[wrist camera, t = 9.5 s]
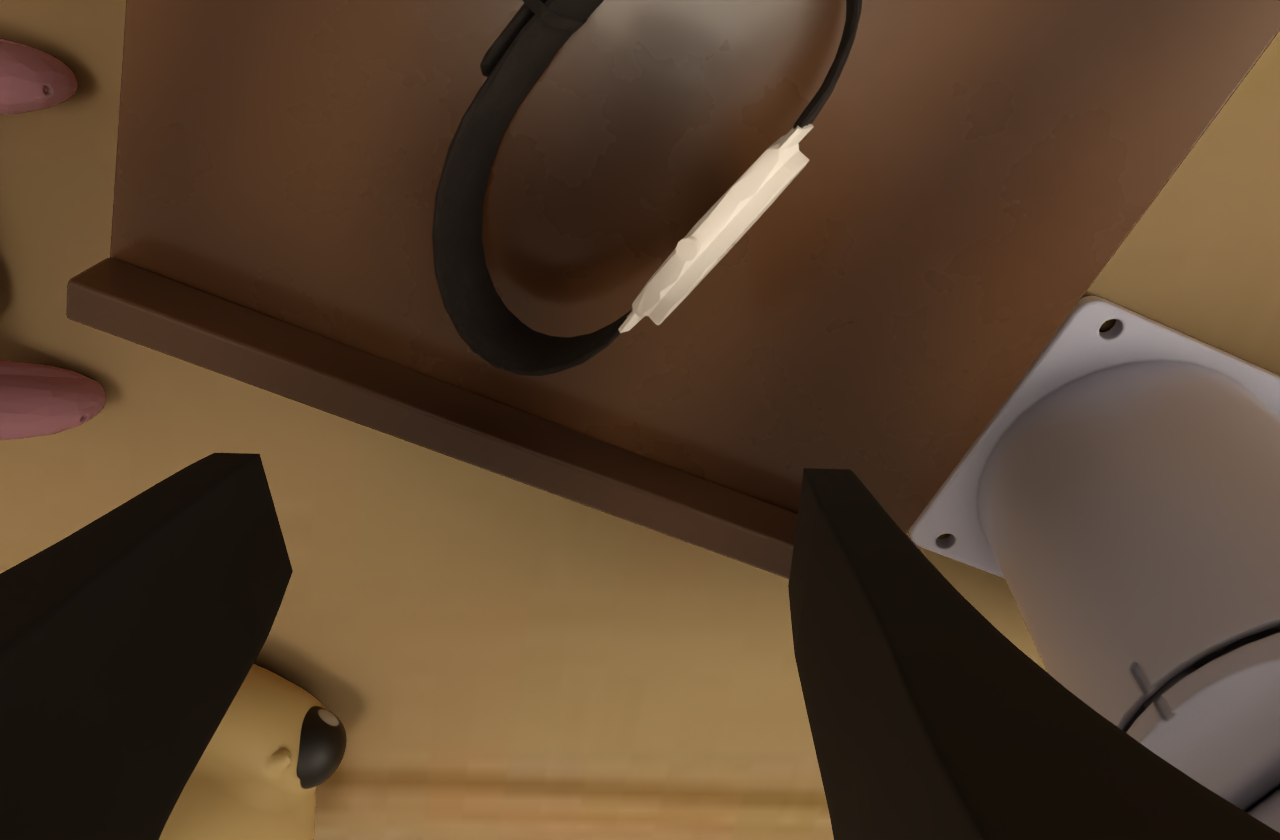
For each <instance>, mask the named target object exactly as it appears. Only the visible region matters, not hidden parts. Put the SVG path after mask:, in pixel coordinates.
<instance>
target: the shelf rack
mask: <svg viewBox="0 0 1280 840" xmlns="http://www.w3.org/2000/svg"><path fill="white" fill-rule="evenodd" d="M523 4H524V2H523V1H522V0H126V16H125V32H124V47H123V63H122V79H121V95H120V110H119V126H118V142H117V157H116V173H115V189H114V205H113V220H112V236H111V252H110V258H106V259H105V260H103V261H101V262H99V263H98V264H96V265H94V266H92V267H91V268H89V269H87V270H85V271H83V272H82V273H80V274H78V275H76V276H75V277H73V278H71V279H70V280H69V282H68V285H67V313H66V315H67V317H68V318H69V319H70V320H73V321H76V322H79V323H82V324H84V325H87V326H90V327H93V328H95V329H98V330H101V331H104V332H106V333H109V334H112V335H115V336H118V337H120V338H123V339H126V340H129V341H131V342H134V343H137V344H140V345H142V346H145V347H148V348H151V349H154V350H156V351H159V352H162V353H165V354H167V355H170V356H173V357H176V358H178V359H181V360H184V361H187V362H190V363H192V364H195V365H198V366H201V367H203V368H206V369H209V370H212V371H214V372H217V373H220V374H223V375H226V376H228V377H231V378H234V379H237V380H239V381H242V382H245V383H248V384H250V385H253V386H256V387H259V388H262V389H264V390H267V391H270V392H273V393H275V394H278V395H281V396H284V397H286V398H289V399H292V400H295V401H298V402H300V403H303V404H306V405H309V406H311V407H314V408H317V409H320V410H322V411H325V412H328V413H331V414H334V415H336V416H339V417H342V418H345V419H347V420H350V421H353V422H356V423H358V424H361V425H364V426H367V427H370V428H372V429H375V430H378V431H381V432H383V433H386V434H389V435H392V436H394V437H397V438H400V439H403V440H405V441H408V442H411V443H414V444H417V445H419V446H422V447H425V448H428V449H430V450H433V451H436V452H439V453H441V454H444V455H447V456H450V457H453V458H455V459H458V460H461V461H464V462H466V463H469V464H472V465H475V466H477V467H480V468H483V469H486V470H489V471H491V472H494V473H497V474H500V475H502V476H505V477H508V478H511V479H513V480H516V481H519V482H522V483H525V484H527V485H530V486H533V487H536V488H538V489H541V490H544V491H547V492H549V493H552V494H555V495H558V496H561V497H563V498H566V499H569V500H572V501H574V502H577V503H580V504H583V505H585V506H588V507H591V508H594V509H597V510H599V511H602V512H605V513H608V514H610V515H613V516H616V517H619V518H621V519H624V520H627V521H630V522H633V523H635V524H638V525H641V526H644V527H646V528H649V529H652V530H655V531H657V532H660V533H663V534H666V535H669V536H671V537H674V538H677V539H680V540H682V541H685V542H688V543H691V544H693V545H696V546H699V547H702V548H705V549H707V550H710V551H713V552H716V553H718V554H721V555H724V556H727V557H729V558H732V559H735V560H738V561H741V562H743V563H746V564H749V565H752V566H754V567H757V568H760V569H763V570H765V571H768V572H771V573H774V574H777V575H779V576H782V577H785V578H788V579H789V578H790V570H791V563H792V555H793V547H794V539H795V532H796V524H797V516H798V508H799V501H800V493H801V485H802V478H803V470H804V468H816V469H851V470H852V471H853V472H854V473H855V474H856V476H857V477H858V478H859V479H860V480H861V481H862V483H863V484H864V485H865V486H866V487H867V489H868V490H869V491H870V492H871V493H872V495H873V496H874V497H875V498H876V500H877V501H878V502H879V503H880V504H881V506H882V507H883V508H884V509H885V510H886V512H887V513H888V514H889V515H890V516H891V518H892V519H893V520H894V521H895V522H896V524H897V525H898V526H899V527H900V528H901V529H902V531H903V532H904V533H905V534H906V533H907V532H908V530H909V529H910V528H911V526H912V525H913V524H914V522H915V521H916V520H917V518H918V517H919V516H920V514H921V513H922V512H923V510H924V509H925V508H926V506H927V505H928V504H929V502H930V501H931V499H932V498H933V497H934V495H935V494H936V493H937V491H938V490H939V489H940V487H941V486H942V485H943V483H944V482H945V481H946V479H947V478H948V477H949V475H950V474H951V473H952V471H953V470H954V469H955V467H956V466H957V464H958V463H959V462H960V460H961V459H962V458H963V456H964V455H965V454H966V452H967V451H968V450H969V448H970V447H971V446H972V444H973V443H974V442H975V440H976V439H977V438H978V436H979V435H980V434H981V432H982V431H983V429H984V428H985V427H986V425H987V424H988V423H989V421H990V420H991V419H992V417H993V416H994V415H995V413H996V412H997V411H998V409H999V408H1000V407H1001V405H1002V404H1003V403H1004V401H1005V400H1006V398H1007V397H1008V396H1009V394H1010V393H1011V392H1012V390H1013V389H1014V388H1015V386H1016V385H1017V384H1018V382H1019V381H1020V380H1021V378H1022V377H1023V376H1024V374H1025V373H1026V372H1027V370H1028V369H1029V368H1030V366H1031V365H1032V363H1033V362H1034V361H1035V359H1036V358H1037V357H1038V355H1039V354H1040V353H1041V351H1042V350H1043V349H1044V347H1045V346H1046V345H1047V343H1048V342H1049V341H1050V339H1051V338H1052V337H1053V335H1054V334H1055V333H1056V331H1057V330H1058V328H1059V327H1060V326H1061V324H1062V323H1063V322H1064V320H1065V319H1066V318H1067V316H1068V315H1069V314H1070V312H1071V311H1072V310H1073V308H1074V307H1075V306H1076V304H1077V303H1078V302H1079V300H1080V299H1081V298H1082V296H1083V295H1084V293H1085V292H1086V291H1087V289H1088V288H1089V287H1090V285H1091V284H1092V283H1093V281H1094V280H1095V279H1096V277H1097V276H1098V275H1099V273H1100V272H1101V271H1102V269H1103V268H1104V267H1105V265H1106V264H1107V262H1108V261H1109V260H1110V258H1111V257H1112V256H1113V254H1114V253H1115V252H1116V250H1117V249H1118V248H1119V246H1120V245H1121V244H1122V242H1123V241H1124V240H1125V238H1126V237H1127V236H1128V234H1129V233H1130V232H1131V230H1132V229H1133V227H1134V226H1135V225H1136V223H1137V222H1138V221H1139V219H1140V218H1141V217H1142V215H1143V214H1144V213H1145V211H1146V210H1147V209H1148V207H1149V206H1150V205H1151V203H1152V202H1153V201H1154V199H1155V198H1156V197H1157V195H1158V194H1159V192H1160V191H1161V190H1162V188H1163V187H1164V186H1165V184H1166V183H1167V182H1168V180H1169V179H1170V178H1171V176H1172V175H1173V174H1174V172H1175V171H1176V170H1177V168H1178V167H1179V166H1180V164H1181V163H1182V161H1183V160H1184V159H1185V157H1186V156H1187V155H1188V153H1189V152H1190V151H1191V149H1192V148H1193V147H1194V145H1195V144H1196V143H1197V141H1198V140H1199V139H1200V137H1201V136H1202V135H1203V133H1204V132H1205V131H1206V129H1207V128H1208V126H1209V125H1210V124H1211V122H1212V121H1213V120H1214V118H1215V117H1216V116H1217V114H1218V113H1219V112H1220V110H1221V109H1222V108H1223V106H1224V105H1225V104H1226V102H1227V101H1228V100H1229V98H1230V97H1231V96H1232V94H1233V93H1234V91H1235V90H1236V89H1237V87H1238V86H1239V85H1240V83H1241V82H1242V81H1243V79H1244V78H1245V77H1246V75H1247V74H1248V73H1249V71H1250V70H1251V69H1252V67H1253V66H1254V65H1255V63H1256V62H1257V61H1258V59H1259V58H1260V56H1261V55H1262V54H1263V52H1264V51H1265V50H1266V48H1267V47H1268V46H1269V44H1270V43H1271V42H1272V40H1273V39H1274V38H1275V36H1276V35H1277V34H1278V32H1279V31H1280V0H862V9H861V15H860V19H859V23H858V28H857V32H856V36H855V40H854V43H853V45H852V48H851V50H850V54H849V57H848V59H847V62H846V64H845V66H844V68H843V70H842V72H841V75H840V77H839V79H838V81H837V83H836V85H835V88H834V90H833V92H832V94H831V95H830V97H829V98H828V100H827V102H826V103H825V105H824V106H823V108H822V109H821V111H820V112H819V114H818V116H817V117H816V118H815V120H814V121H813V123H812V125H813V126H814V127H813V128H812V129H811V130H810V131H809V132H808V134H807V135H806V136H805V137H804V138H803V139H802V140H801V141H800V142H799V151H800V152H801V153H802V154H804V155H805V156H806V157H807V158H808V159H809V161H808V163H807V164H806V166H805V167H804V168H803V169H802V170H801V171H800V173H799V174H798V175H797V176H796V177H795V178H794V179H793V180H792V182H791V183H790V184H789V185H788V186H787V187H786V188H785V189H784V191H783V192H782V193H781V194H780V195H779V196H778V197H777V199H776V200H775V201H774V202H773V203H772V204H771V205H770V207H769V208H768V209H767V210H766V211H765V212H764V213H763V214H762V215H761V216H760V218H759V219H758V220H757V221H756V222H755V223H754V224H753V225H752V226H751V227H750V229H749V230H748V231H747V232H746V233H745V234H744V235H743V236H742V237H741V238H740V240H739V241H738V242H737V243H736V244H735V245H734V246H733V247H732V248H731V249H730V250H729V252H728V253H727V254H726V255H725V256H724V257H723V258H722V259H721V260H720V261H719V262H718V263H717V265H716V266H715V267H714V268H713V269H712V270H711V271H710V272H709V273H708V274H707V275H706V276H705V277H704V279H703V280H702V281H701V282H700V283H699V284H698V285H697V286H696V287H695V288H694V289H693V291H692V292H691V293H690V294H689V295H688V296H687V297H686V298H685V299H684V300H683V301H682V302H681V303H680V304H679V305H678V306H677V308H676V309H675V310H674V311H673V312H672V313H671V314H670V315H669V316H668V317H667V318H666V319H665V320H664V321H663V322H662V323H661V324H660V325H656V324H655V323H654V322H653V321H652V320H651V319H650V317H649V316H644V317H643V318H642V319H641V320H640V321H639V322H638V323H637V324H636V325H635V326H634V327H633V328H632V329H630V330H629V331H627V332H623V333H622V334H621V335H620V336H618V337H617V338H616V339H615V340H614V341H613V342H612V343H611V344H610V345H609V346H608V347H606V348H605V349H603V350H602V351H600V352H599V353H598V354H596V355H595V356H593V357H592V358H590V359H589V360H587V361H586V362H584V363H583V364H580V365H577V366H575V367H572V368H569V369H567V370H564V371H561V372H558V373H554V374H549V375H543V376H525V375H517V374H514V373H511V372H508V371H505V370H502V369H499V368H496V367H493V366H492V365H491V364H489V363H488V362H486V361H485V360H484V359H482V358H481V357H479V356H478V355H477V354H475V353H474V352H473V351H472V350H471V349H470V347H469V346H468V345H467V344H466V343H465V341H464V340H463V339H462V338H461V337H460V335H459V334H458V333H457V331H456V329H455V327H454V325H453V323H452V321H451V319H450V317H449V315H448V313H447V311H446V309H445V308H444V305H443V301H442V298H441V294H440V290H439V287H438V283H437V279H436V276H435V269H434V255H433V241H432V231H433V219H434V207H435V196H436V191H437V188H438V184H439V180H440V177H441V173H442V170H443V166H444V163H445V159H446V156H447V152H448V149H449V146H450V144H451V142H452V139H453V137H454V135H455V133H456V131H457V128H458V126H459V124H460V122H461V120H462V117H463V116H464V114H465V112H466V111H467V109H468V108H469V106H470V104H471V103H472V101H473V99H474V98H475V96H476V94H477V93H478V91H479V89H480V88H481V86H482V85H483V83H484V82H485V81H486V79H487V78H488V77H486V76H484V75H482V71H481V68H480V64H481V62H482V60H483V58H484V56H485V54H486V52H487V51H488V49H489V48H490V47H491V46H492V44H493V43H494V42H495V40H496V39H497V38H498V36H499V35H500V34H501V33H502V31H503V30H504V29H505V27H506V26H507V25H508V24H509V22H510V21H511V20H512V18H513V17H514V16H515V15H516V13H517V12H518V11H519V9H520V8H521V7H522V6H523ZM845 21H846V0H604V1H603V2H602V3H601V4H600V5H599V6H598V7H597V8H596V9H595V10H594V12H593V13H592V14H591V15H590V16H589V17H588V18H587V21H586V22H585V23H584V24H583V25H582V26H581V27H580V28H579V29H578V30H577V31H576V32H574V33H573V34H572V35H571V36H570V37H569V38H568V40H567V41H566V42H565V43H564V44H563V45H562V47H561V48H560V49H559V50H558V52H557V53H556V55H555V56H554V57H553V59H552V60H551V62H550V63H549V65H548V66H547V67H546V69H545V70H544V72H543V73H542V75H541V76H540V77H539V79H538V80H537V82H536V83H535V85H534V86H533V87H532V89H531V90H530V92H529V93H528V94H527V96H526V97H525V99H524V100H523V102H522V103H521V104H520V106H519V107H518V109H517V111H516V113H515V114H514V116H513V118H512V120H511V122H510V124H509V126H508V127H507V129H506V131H505V133H504V135H503V137H502V139H501V142H500V145H499V147H498V150H497V153H496V155H495V158H494V161H493V163H492V166H491V169H490V172H489V177H488V182H487V187H486V192H485V197H484V202H483V224H482V241H483V247H484V254H485V260H486V266H487V268H488V271H489V274H490V276H491V279H492V282H493V285H494V287H495V290H496V292H497V293H498V295H499V296H500V298H501V300H502V301H503V303H504V304H505V306H506V307H507V309H508V310H510V311H511V312H512V313H513V314H514V315H515V316H516V317H517V318H518V319H519V320H520V321H521V322H522V323H523V324H525V325H526V326H528V327H529V328H531V329H532V330H534V331H537V332H540V333H543V334H546V335H549V336H557V337H569V338H570V337H575V336H580V335H585V334H590V333H593V332H595V331H597V330H599V329H601V328H603V327H605V326H607V325H609V324H611V323H613V322H615V321H616V320H618V319H619V318H621V317H622V316H623V315H625V314H626V313H628V312H629V311H630V310H632V303H633V302H634V300H635V299H636V298H637V296H638V295H639V293H640V292H641V291H642V289H643V288H644V286H645V285H646V284H647V282H648V281H649V279H650V278H651V277H652V276H653V275H654V273H655V272H656V271H657V270H658V269H659V267H660V266H661V265H662V264H663V263H664V261H665V260H666V259H667V258H668V257H669V255H670V254H671V253H672V252H673V251H674V249H675V248H676V247H677V244H678V242H679V241H680V240H681V239H683V238H684V237H685V236H686V235H687V234H688V233H689V231H690V230H691V229H692V228H693V227H694V225H695V224H696V223H697V222H698V221H699V220H700V219H701V218H702V217H703V216H704V215H705V214H706V212H707V211H708V210H709V209H710V208H711V207H712V206H713V205H714V204H715V203H716V202H717V201H718V200H719V199H720V198H721V197H722V196H723V195H724V194H725V193H726V191H727V190H728V189H729V188H730V187H731V186H732V185H733V184H734V183H735V182H736V181H737V180H738V179H739V178H740V177H741V176H742V175H743V174H744V173H745V172H746V171H747V169H748V168H749V167H750V166H751V165H752V164H753V163H754V162H755V161H756V160H757V159H758V158H759V157H760V156H761V155H762V154H763V153H764V152H765V151H766V150H767V149H768V148H769V147H770V146H771V145H772V144H773V143H775V142H776V141H777V140H778V139H779V138H780V137H781V136H784V135H786V134H787V133H788V132H789V131H790V130H791V129H792V128H793V127H794V123H795V122H796V121H797V119H798V118H799V117H800V115H801V114H802V112H803V111H804V110H805V108H806V107H807V105H808V104H809V103H810V101H811V100H812V99H813V97H814V96H815V94H816V93H817V92H818V90H819V89H820V87H821V85H822V83H823V81H824V79H825V77H826V75H827V73H828V71H829V69H830V67H831V65H832V64H833V62H834V60H835V57H836V54H837V51H838V47H839V44H840V41H841V38H842V34H843V30H844V25H845Z"/></svg>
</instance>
